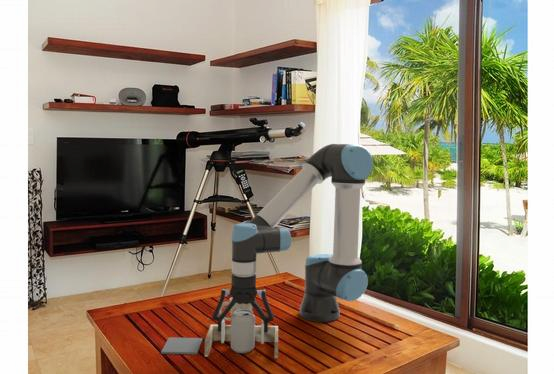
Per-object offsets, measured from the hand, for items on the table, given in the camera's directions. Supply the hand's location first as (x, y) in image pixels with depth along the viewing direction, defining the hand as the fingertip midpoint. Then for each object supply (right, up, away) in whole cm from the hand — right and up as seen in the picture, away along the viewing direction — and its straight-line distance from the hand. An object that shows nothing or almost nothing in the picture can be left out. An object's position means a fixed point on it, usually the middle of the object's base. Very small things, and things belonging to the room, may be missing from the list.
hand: (242, 341), depth 150 cm
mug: (-4, -1, +19) cm, 20 cm away
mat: (-19, -2, +1) cm, 19 cm away
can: (0, -3, 0) cm, 3 cm away
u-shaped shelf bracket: (0, -2, 0) cm, 2 cm away
